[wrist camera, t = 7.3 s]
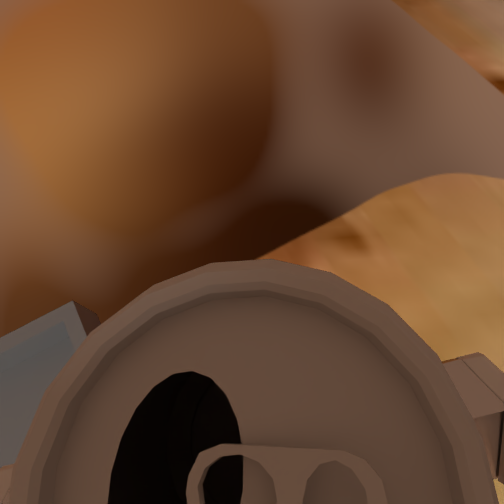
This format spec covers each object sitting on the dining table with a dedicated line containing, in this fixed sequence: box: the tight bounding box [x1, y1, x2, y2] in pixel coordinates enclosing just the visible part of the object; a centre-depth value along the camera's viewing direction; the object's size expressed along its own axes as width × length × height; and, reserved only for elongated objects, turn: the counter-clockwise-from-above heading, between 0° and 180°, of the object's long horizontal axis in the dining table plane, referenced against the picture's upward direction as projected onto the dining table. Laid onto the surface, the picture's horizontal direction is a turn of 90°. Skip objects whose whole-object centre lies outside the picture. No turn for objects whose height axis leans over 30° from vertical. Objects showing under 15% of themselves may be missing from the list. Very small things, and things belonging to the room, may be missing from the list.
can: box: [8, 259, 499, 504], centre depth 10 cm, size 8×8×12 cm
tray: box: [0, 301, 101, 468], centre depth 24 cm, size 15×15×4 cm
